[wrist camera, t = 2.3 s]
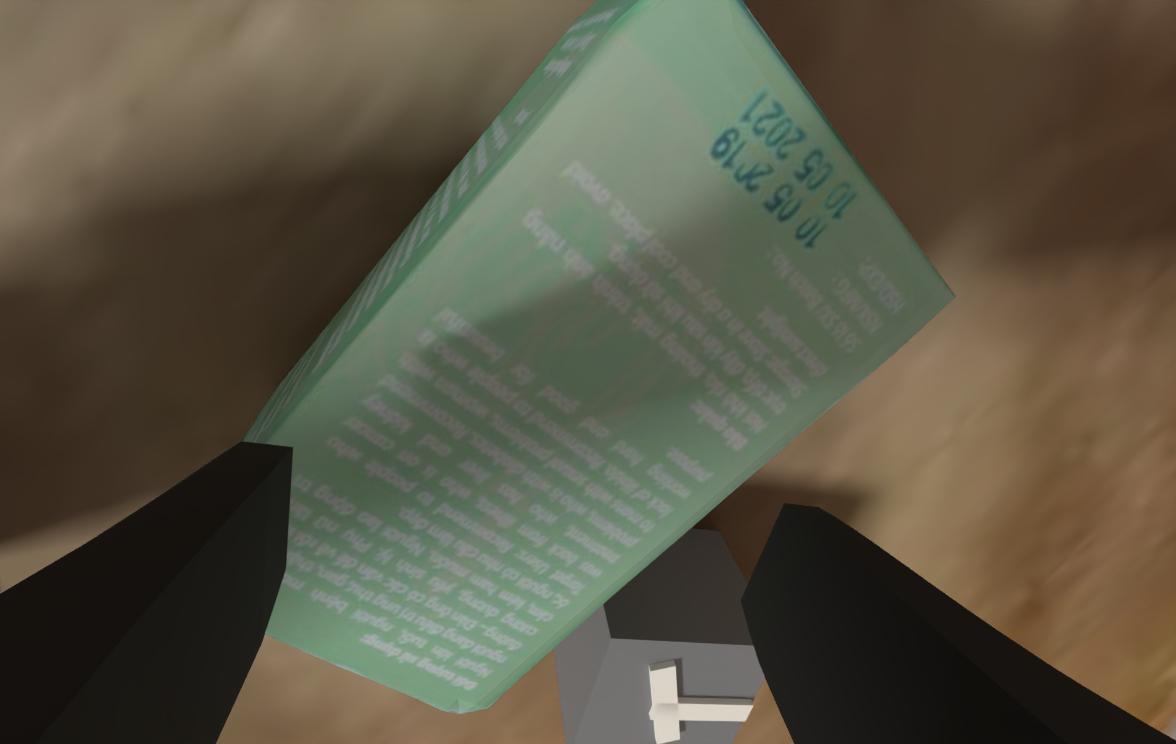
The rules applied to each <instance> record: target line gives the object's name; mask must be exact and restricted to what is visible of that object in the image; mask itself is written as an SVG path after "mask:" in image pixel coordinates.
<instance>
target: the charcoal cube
mask: <svg viewBox="0 0 1176 744" xmlns="http://www.w3.org/2000/svg"><path fill="white" fill-rule="evenodd" d="M747 585H748V584H747V583H746V581H745V579H744V577H743V575H742V573H741V571H740V569H739V567H738V565H737V563H736V561H735V560H734V558H733V556H732V554H731V552H730V550H729V548H728V546H727V544H726V542H725V540H724V539H723V537H722V535H721V533H720V531H715V530H705V529H695V528H691V529H689V530H688V531H687V532H686V533H685V534H684V535H683V536H681V537H680V538H679V539H678V540H677V541H676V542H674V543H673V544H672V545H671V546H670V547H669V548H667V549H666V550H665V551H664V552H663V553H662V554H660V555H659V556H658V557H657V558H656V559H655V560H653V561H652V562H651V563H650V564H649V565H648V566H647V567H645V568H644V569H643V570H642V571H641V572H640V573H638V574H637V575H636V576H635V577H634V578H633V579H631V580H630V581H629V582H628V583H627V584H626V585H624V586H623V587H622V588H621V589H620V590H619V591H617V592H616V593H615V594H614V595H613V596H612V597H611V598H609V599H608V600H607V601H606V602H605V603H604V604H603V605H602V606H601V607H599V608H598V609H597V610H596V611H595V612H594V613H593V614H592V615H590V616H589V617H588V618H587V619H586V620H585V621H584V622H583V623H581V624H580V625H579V626H578V627H577V628H576V629H575V630H574V631H572V632H571V633H570V634H569V635H568V636H567V637H566V638H565V639H563V640H562V641H561V642H560V643H559V644H558V645H557V646H556V647H554V653H555V661H556V669H557V677H558V686H559V694H560V702H561V710H562V718H563V726H564V735H565V743H566V744H731V743H732V741H733V739H734V737H735V735H736V733H737V732H738V730H739V728H740V726H741V724H742V722H743V721H746V719H747V717H748V715H749V713H750V711H751V709H752V707H753V703H752V702H753V700H754V698H755V696H756V694H757V692H758V690H759V688H760V686H761V684H762V682H763V680H764V678H765V676H764V674H763V671H762V669H761V667H760V664H759V661H758V658H757V655H756V652H755V649H754V646H753V642H752V639H751V636H750V633H749V629H748V626H747V622H746V618H745V615H744V611H743V607H742V604H741V598H742V596H743V594H744V592H745V590H746V587H747Z"/></svg>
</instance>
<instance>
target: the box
mask: <svg viewBox="0 0 1176 744" xmlns="http://www.w3.org/2000/svg"><path fill="white" fill-rule="evenodd" d="M955 297H956V296H955V295H954V293H953V292H952V291H951V289H950V288H949V287H948V285H947V284H946V283H945V281H944V280H943V279H942V277H941V276H940V274H939V273H938V272H937V270H936V269H935V267H934V266H933V265H932V263H931V262H930V260H929V259H928V258H927V256H926V255H925V254H924V252H923V251H922V249H921V248H920V247H919V245H918V244H917V242H916V241H915V240H914V238H913V237H912V236H911V234H910V233H909V231H908V230H907V229H906V227H905V226H904V224H903V223H902V222H901V220H900V219H899V218H898V216H897V215H896V213H895V212H894V211H893V209H892V208H891V206H890V205H889V204H888V202H887V201H886V199H885V198H884V197H883V195H882V194H881V193H880V191H879V190H878V188H877V187H876V186H875V184H874V183H873V181H872V180H871V179H870V177H869V176H868V175H867V173H866V172H865V170H864V169H863V168H862V166H861V165H860V163H859V162H858V161H857V159H856V158H855V156H854V155H853V154H852V152H851V151H850V150H849V148H848V147H847V145H846V144H845V143H844V141H843V140H842V138H841V137H840V136H839V134H838V133H837V132H836V130H835V129H834V127H833V126H832V125H831V123H830V122H829V120H828V119H827V118H826V116H825V115H824V113H823V112H822V111H821V109H820V108H819V107H818V105H817V104H816V102H815V101H814V100H813V98H812V97H811V95H810V94H809V93H808V91H807V90H806V89H805V87H804V86H803V84H802V83H801V82H800V80H799V79H798V77H797V76H796V75H795V73H794V72H793V70H792V69H791V68H790V66H789V65H788V64H787V62H786V61H785V59H784V58H783V57H782V55H781V54H780V52H779V51H778V49H777V48H776V47H775V46H774V44H773V43H772V41H771V40H770V39H769V37H768V36H767V34H766V33H765V32H764V30H763V29H762V28H761V26H760V25H759V23H758V22H757V21H756V19H755V18H754V16H753V15H752V13H751V12H750V10H749V9H748V8H747V6H746V5H745V3H744V2H743V0H597V1H596V2H595V3H594V4H593V5H592V6H591V7H590V8H589V9H588V10H587V11H586V12H585V13H584V14H583V15H582V16H581V17H580V18H579V19H578V20H577V21H576V22H575V23H574V24H573V25H572V26H571V27H570V28H569V29H568V31H567V32H566V33H565V34H564V35H563V37H562V38H561V39H560V40H559V42H558V43H557V44H556V45H555V47H554V48H553V49H552V50H551V51H550V53H549V54H548V55H547V56H546V58H545V59H544V60H543V61H542V62H541V64H540V65H539V66H538V67H537V69H536V70H535V71H534V72H533V73H532V75H531V76H530V77H529V78H528V80H527V81H526V82H525V83H524V84H523V86H522V87H521V88H520V89H519V91H518V92H517V93H516V94H515V95H514V97H513V98H512V99H511V100H510V102H509V103H508V104H507V105H506V106H505V108H504V109H503V110H502V111H501V112H500V114H499V115H498V116H497V117H496V119H495V120H494V121H493V122H492V123H491V125H490V126H489V127H488V128H487V130H486V131H485V132H484V133H483V134H482V136H481V137H480V138H479V139H478V140H477V142H476V143H475V144H474V145H473V147H472V148H471V149H470V150H469V151H468V153H467V154H466V155H465V156H464V158H463V159H462V160H461V161H460V162H459V164H458V165H457V166H456V167H455V169H454V170H453V171H452V172H451V173H450V175H449V176H448V177H447V178H446V180H445V181H444V182H443V183H442V185H441V186H440V187H439V188H438V189H437V191H436V192H435V193H434V194H433V196H432V197H431V198H430V199H429V200H428V202H427V203H426V204H425V205H424V207H423V208H422V209H421V210H420V211H419V213H418V214H417V215H416V216H415V218H414V219H413V220H412V221H411V222H410V224H409V225H408V226H407V227H406V229H405V230H404V231H403V232H402V233H401V235H400V236H399V237H398V238H397V240H396V241H395V242H394V243H393V244H392V246H391V247H390V248H389V249H388V251H387V252H386V253H385V254H384V255H383V257H382V258H381V259H380V260H379V262H378V263H377V264H376V265H375V266H374V268H373V269H372V270H371V271H370V273H369V274H368V275H367V276H366V278H365V279H364V280H363V281H362V283H361V284H360V285H359V286H358V288H357V289H356V290H355V291H354V293H353V294H352V295H351V296H350V298H349V299H348V300H347V301H346V303H345V304H344V305H343V306H342V308H341V309H340V310H339V311H338V313H337V314H336V315H335V316H334V318H333V319H332V320H331V321H330V323H329V324H328V325H327V326H326V328H325V329H324V330H323V331H322V333H321V334H320V335H319V336H318V338H317V339H316V340H315V341H314V343H313V344H312V345H311V346H310V347H309V349H308V350H307V351H306V352H305V354H304V355H303V356H302V357H301V358H300V360H299V361H298V362H297V363H296V365H295V366H294V367H293V368H292V370H291V371H290V372H289V373H288V375H287V376H286V377H285V378H284V380H283V381H282V382H281V383H280V384H279V386H278V387H277V388H276V390H275V391H274V393H273V394H272V395H271V397H270V398H269V400H268V401H267V403H266V404H265V405H264V407H263V408H262V410H261V411H260V413H259V414H258V416H257V418H256V419H255V421H254V422H253V424H252V426H251V427H250V429H249V430H248V432H247V434H246V435H245V437H244V438H243V440H242V441H244V442H253V443H262V444H271V445H279V446H288V447H293V459H292V476H291V493H290V511H289V528H288V545H287V562H286V571H285V574H284V577H283V580H282V583H281V586H280V589H279V592H278V596H277V599H276V602H275V605H274V608H273V611H272V614H271V617H270V620H269V623H268V626H267V629H266V632H265V634H266V635H268V636H270V637H272V638H275V639H277V640H279V641H282V642H284V643H286V644H289V645H291V646H293V647H295V648H298V649H300V650H302V651H305V652H307V653H309V654H312V655H314V656H316V657H318V658H321V659H323V660H325V661H328V662H330V663H332V664H334V665H337V666H339V667H342V668H344V669H347V670H349V671H351V672H354V673H356V674H359V675H361V676H364V677H366V678H368V679H371V680H373V681H376V682H378V683H380V684H383V685H385V686H388V687H390V688H393V689H395V690H397V691H400V692H402V693H405V694H407V695H409V696H412V697H414V698H416V699H418V700H421V701H423V702H425V703H427V704H429V705H432V706H434V707H436V708H438V709H441V710H443V711H446V712H452V713H458V714H462V713H467V712H472V711H477V710H481V709H485V708H488V707H490V706H491V705H492V704H493V703H494V702H495V701H496V700H497V699H498V698H499V697H500V696H501V695H502V694H503V693H504V692H505V691H506V690H508V689H509V688H510V687H511V686H512V685H513V684H514V683H515V682H516V681H518V680H519V679H520V678H521V677H522V676H523V675H524V674H525V673H527V672H528V671H529V670H530V669H531V668H532V667H533V666H534V665H535V664H537V663H538V662H539V661H540V660H541V659H542V658H543V657H544V656H546V655H547V654H548V653H549V652H550V651H551V650H552V649H553V648H554V647H556V646H557V645H558V644H559V643H560V642H561V641H562V640H563V639H565V638H566V637H567V636H568V635H569V634H570V633H571V632H572V631H574V630H575V629H576V628H577V627H578V626H579V625H580V624H581V623H583V622H584V621H585V620H586V619H587V618H588V617H589V616H590V615H592V614H593V613H594V612H595V611H596V610H597V609H598V608H599V607H601V606H602V605H603V604H604V603H605V602H606V601H607V600H608V599H609V598H611V597H612V596H613V595H614V594H615V593H616V592H617V591H619V590H620V589H621V588H622V587H623V586H624V585H626V584H627V583H628V582H629V581H630V580H631V579H633V578H634V577H635V576H636V575H637V574H638V573H640V572H641V571H642V570H643V569H644V568H645V567H647V566H648V565H649V564H650V563H651V562H652V561H653V560H655V559H656V558H657V557H658V556H659V555H660V554H662V553H663V552H664V551H665V550H666V549H667V548H669V547H670V546H671V545H672V544H673V543H674V542H676V541H677V540H678V539H679V538H680V537H681V536H683V535H684V534H685V533H686V532H687V531H688V530H689V529H691V528H692V527H693V526H694V525H695V524H696V523H697V522H699V521H700V520H701V519H702V518H703V517H704V516H706V515H707V514H708V513H709V512H710V511H711V510H712V509H714V508H715V507H716V506H717V505H718V504H719V503H720V502H722V501H723V500H724V499H725V498H726V497H727V496H728V495H730V494H731V493H732V492H733V491H734V490H735V489H736V488H738V487H739V486H740V485H741V484H742V483H743V482H745V481H746V480H747V479H748V478H749V477H750V476H751V475H753V474H754V473H755V472H756V471H757V470H758V469H760V468H761V467H762V466H763V465H764V464H765V463H767V462H768V461H769V460H770V459H771V458H772V457H774V456H775V455H776V454H777V453H778V452H779V451H781V450H782V449H783V448H784V447H785V446H786V445H788V444H789V443H790V442H791V441H792V440H793V439H795V438H796V437H797V436H798V435H799V434H800V433H802V432H803V431H804V430H805V429H806V428H807V427H809V426H810V425H811V424H812V423H813V422H815V421H816V420H817V419H818V418H819V417H820V416H822V415H823V414H824V413H825V412H826V411H827V410H829V409H830V408H831V407H832V406H833V405H834V404H836V403H837V402H838V401H839V400H840V399H841V398H843V397H844V396H845V395H846V394H847V393H849V392H850V391H851V390H852V389H853V388H854V387H856V386H857V385H858V384H859V383H860V382H862V381H863V380H864V379H865V378H866V377H867V376H869V375H870V374H871V373H872V372H873V371H874V370H876V369H877V368H878V367H879V366H880V365H882V364H883V363H884V362H885V361H886V360H887V359H889V358H890V357H891V356H892V355H893V354H894V353H896V352H897V351H898V350H899V349H900V348H901V347H902V346H903V345H904V344H905V343H906V342H908V341H909V340H910V339H911V338H912V337H913V336H914V335H915V334H916V333H917V332H918V331H920V330H921V329H922V328H923V327H924V326H925V325H926V324H927V323H928V322H929V321H930V320H931V319H932V318H933V317H934V316H935V315H936V314H937V313H939V312H940V311H941V310H942V309H943V308H944V307H945V306H946V305H947V304H948V303H949V302H950V301H952V300H953V299H954V298H955Z"/></svg>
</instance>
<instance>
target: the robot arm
mask: <svg viewBox="0 0 1176 744" xmlns="http://www.w3.org/2000/svg"><path fill="white" fill-rule="evenodd" d="M292 459H293V447H288V446H279V445H271V444H262V443H253V442H244V441H241V442H240V443H238V444H237V445H235V446H234V447H232V448H231V449H229V450H228V451H226V452H224V453H223V454H221V455H220V456H218V457H217V458H215V459H214V460H212V461H211V462H209V463H208V464H206V465H205V466H203V467H202V468H200V469H199V470H197V471H196V472H194V473H193V474H191V475H190V476H188V477H187V478H185V479H184V480H182V481H181V482H179V483H178V484H176V485H175V486H173V487H172V488H171V489H169V490H168V491H166V492H165V493H163V494H162V495H160V496H159V497H157V498H156V499H154V500H153V501H151V502H150V503H148V504H146V505H145V506H143V507H142V508H140V509H139V510H137V511H136V512H134V513H132V514H131V515H129V516H128V517H126V518H125V519H123V520H121V521H120V522H118V523H117V524H115V525H114V526H112V527H111V528H109V529H107V530H106V531H104V532H103V533H101V534H100V535H98V536H97V537H95V538H93V539H92V540H90V541H89V542H87V543H85V544H84V545H82V546H81V547H79V548H77V549H75V550H74V551H72V552H70V553H69V554H67V555H65V556H64V557H62V558H60V559H59V560H57V561H55V562H53V563H52V564H50V565H48V566H47V567H45V568H43V569H42V570H40V571H38V572H36V573H35V574H33V575H31V576H30V577H28V578H26V579H25V580H23V581H21V582H19V583H18V584H16V585H14V586H13V587H11V588H9V589H8V590H6V591H4V592H3V593H1V594H0V744H216V742H217V740H218V738H219V735H220V733H221V731H222V729H223V727H224V725H225V722H226V720H227V718H228V716H229V714H230V712H231V709H232V707H233V705H234V703H235V701H236V699H237V696H238V694H239V692H240V690H241V688H242V685H243V683H244V681H245V679H246V677H247V674H248V672H249V670H250V668H251V666H252V663H253V661H254V659H255V657H256V655H257V652H258V650H259V648H260V646H261V643H262V641H263V638H264V635H265V632H266V629H267V626H268V623H269V620H270V617H271V614H272V611H273V608H274V605H275V602H276V599H277V596H278V592H279V589H280V586H281V583H282V580H283V577H284V574H285V571H286V562H287V545H288V528H289V511H290V493H291V476H292ZM741 604H742V607H743V611H744V615H745V618H746V622H747V626H748V629H749V633H750V636H751V639H752V642H753V646H754V649H755V652H756V655H757V658H758V661H759V664H760V667H761V669H762V671H763V674H764V676H765V679H766V681H767V683H768V685H769V688H770V690H771V692H772V695H773V697H774V699H775V701H776V704H777V706H778V708H779V711H780V713H781V715H782V717H783V720H784V722H785V724H786V726H787V728H788V731H789V733H790V735H791V737H792V740H793V742H794V744H1176V740H1174V739H1172V738H1170V737H1169V736H1167V735H1165V734H1163V733H1162V732H1160V731H1158V730H1156V729H1154V728H1153V727H1151V726H1149V725H1148V724H1146V723H1144V722H1142V721H1141V720H1139V719H1137V718H1136V717H1134V716H1132V715H1131V714H1129V713H1127V712H1126V711H1124V710H1122V709H1121V708H1119V707H1117V706H1116V705H1114V704H1112V703H1111V702H1109V701H1107V700H1106V699H1104V698H1102V697H1101V696H1099V695H1097V694H1096V693H1094V692H1092V691H1091V690H1089V689H1087V688H1086V687H1084V686H1082V685H1081V684H1079V683H1077V682H1076V681H1074V680H1073V679H1071V678H1069V677H1068V676H1066V675H1065V674H1063V673H1062V672H1060V671H1058V670H1057V669H1055V668H1054V667H1052V666H1051V665H1049V664H1047V663H1046V662H1044V661H1043V660H1041V659H1040V658H1038V657H1037V656H1035V655H1034V654H1032V653H1031V652H1029V651H1028V650H1026V649H1025V648H1023V647H1022V646H1020V645H1019V644H1017V643H1016V642H1014V641H1013V640H1011V639H1010V638H1008V637H1007V636H1005V635H1004V634H1002V633H1001V632H999V631H998V630H996V629H995V628H993V627H992V626H990V625H989V624H988V623H986V622H985V621H983V620H982V619H980V618H979V617H977V616H976V615H975V614H973V613H972V612H970V611H969V610H967V609H966V608H964V607H963V606H962V605H960V604H959V603H957V602H956V601H955V600H953V599H952V598H950V597H949V596H947V595H946V594H945V593H943V592H942V591H940V590H939V589H938V588H936V587H935V586H933V585H932V584H931V583H929V582H928V581H926V580H925V579H924V578H922V577H921V576H919V575H918V574H917V573H915V572H914V571H912V570H911V569H910V568H908V567H907V566H905V565H904V564H903V563H901V562H900V561H898V560H897V559H896V558H894V557H893V556H891V555H890V554H889V553H887V552H886V551H884V550H883V549H882V548H880V547H879V546H877V545H876V544H875V543H873V542H872V541H870V540H869V539H867V538H866V537H864V536H863V535H862V534H860V533H859V532H857V531H856V530H854V529H853V528H851V527H850V526H848V525H847V524H845V523H844V522H842V521H841V520H839V519H837V518H836V517H834V516H833V515H831V514H829V513H827V512H826V511H824V510H822V509H820V508H819V507H811V506H803V505H794V504H785V503H784V505H783V508H782V510H781V512H780V514H779V517H778V519H777V521H776V523H775V525H774V528H773V530H772V532H771V534H770V536H769V539H768V541H767V543H766V545H765V548H764V550H763V552H762V554H761V556H760V559H759V561H758V563H757V565H756V567H755V570H754V572H753V574H752V576H751V579H750V581H749V583H748V585H747V587H746V590H745V592H744V594H743V596H742V598H741Z"/></svg>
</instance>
